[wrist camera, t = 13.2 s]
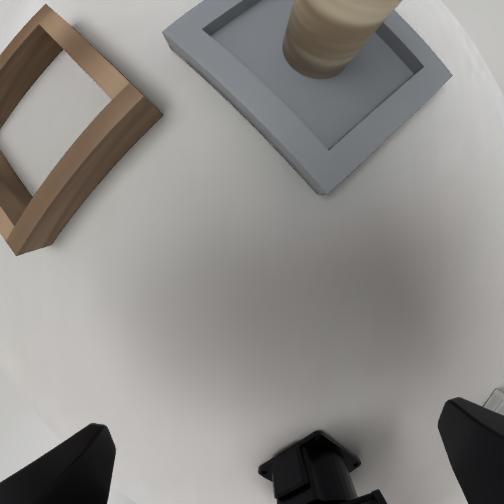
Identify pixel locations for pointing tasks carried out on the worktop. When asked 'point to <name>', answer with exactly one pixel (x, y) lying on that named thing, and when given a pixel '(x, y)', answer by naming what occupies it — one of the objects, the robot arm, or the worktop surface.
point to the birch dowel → (330, 33)
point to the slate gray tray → (308, 84)
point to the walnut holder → (83, 149)
